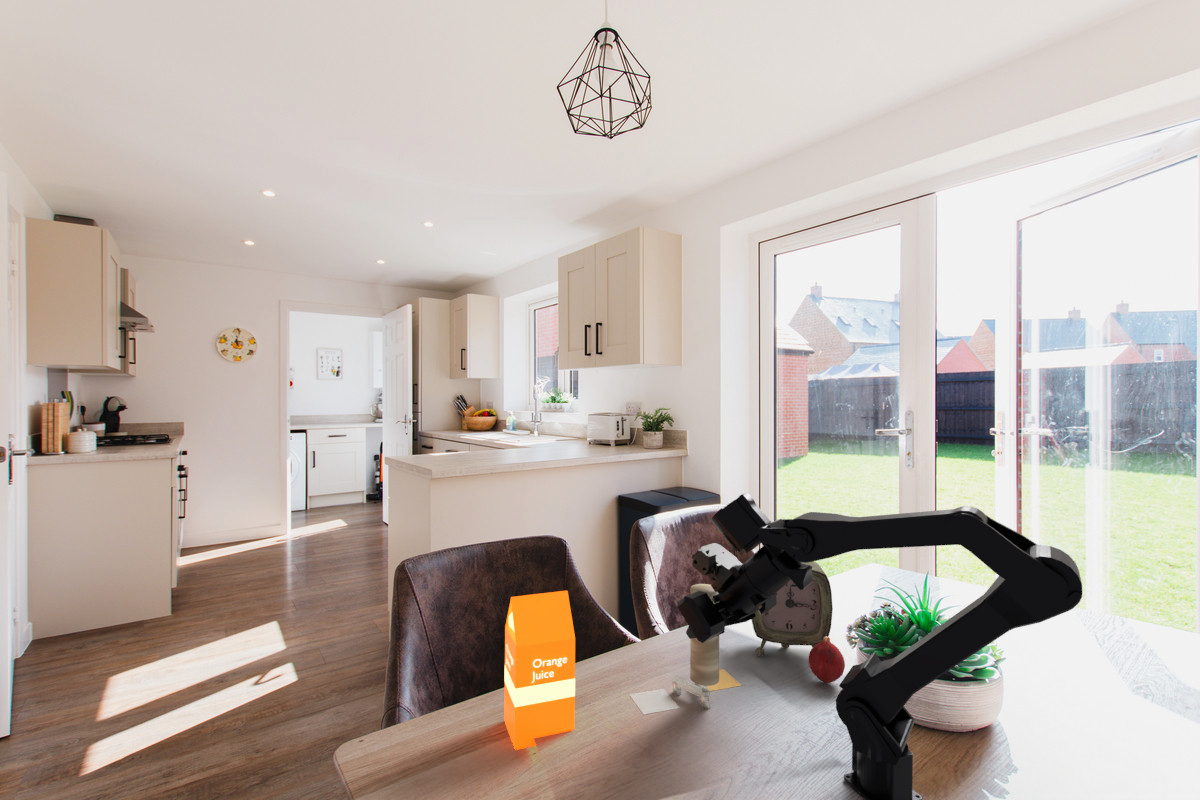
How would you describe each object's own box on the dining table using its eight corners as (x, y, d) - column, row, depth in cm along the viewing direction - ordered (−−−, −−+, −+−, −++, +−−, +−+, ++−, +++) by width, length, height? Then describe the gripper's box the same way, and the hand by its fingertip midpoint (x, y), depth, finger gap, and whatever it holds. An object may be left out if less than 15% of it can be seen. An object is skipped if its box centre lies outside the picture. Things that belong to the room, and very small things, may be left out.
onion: (847, 694, 94) (848, 646, 94) (811, 690, 95) (811, 642, 95) (840, 677, 99) (840, 631, 99) (805, 673, 100) (806, 629, 100)
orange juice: (503, 720, 85) (504, 588, 85) (559, 709, 88) (561, 582, 88) (514, 751, 78) (515, 606, 78) (575, 738, 81) (576, 599, 81)
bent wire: (723, 707, 88) (723, 690, 88) (689, 713, 86) (689, 697, 86) (700, 683, 95) (700, 669, 95) (668, 689, 93) (668, 674, 93)
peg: (724, 683, 86) (724, 591, 86) (698, 687, 85) (699, 594, 85) (710, 670, 90) (710, 582, 90) (685, 674, 89) (685, 585, 89)
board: (773, 717, 87) (773, 710, 87) (654, 741, 80) (654, 733, 80) (725, 674, 100) (725, 668, 100) (619, 692, 93) (619, 685, 93)
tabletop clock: (750, 659, 106) (751, 526, 105) (746, 639, 114) (747, 516, 114) (831, 667, 103) (833, 530, 103) (821, 645, 112) (822, 520, 112)
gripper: (759, 521, 91) (703, 574, 99) (688, 540, 78) (630, 599, 86) (805, 581, 85) (742, 632, 93) (737, 613, 73) (670, 669, 81)
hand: (697, 631), depth 89 cm, fingers closed on peg, 4 cm apart
